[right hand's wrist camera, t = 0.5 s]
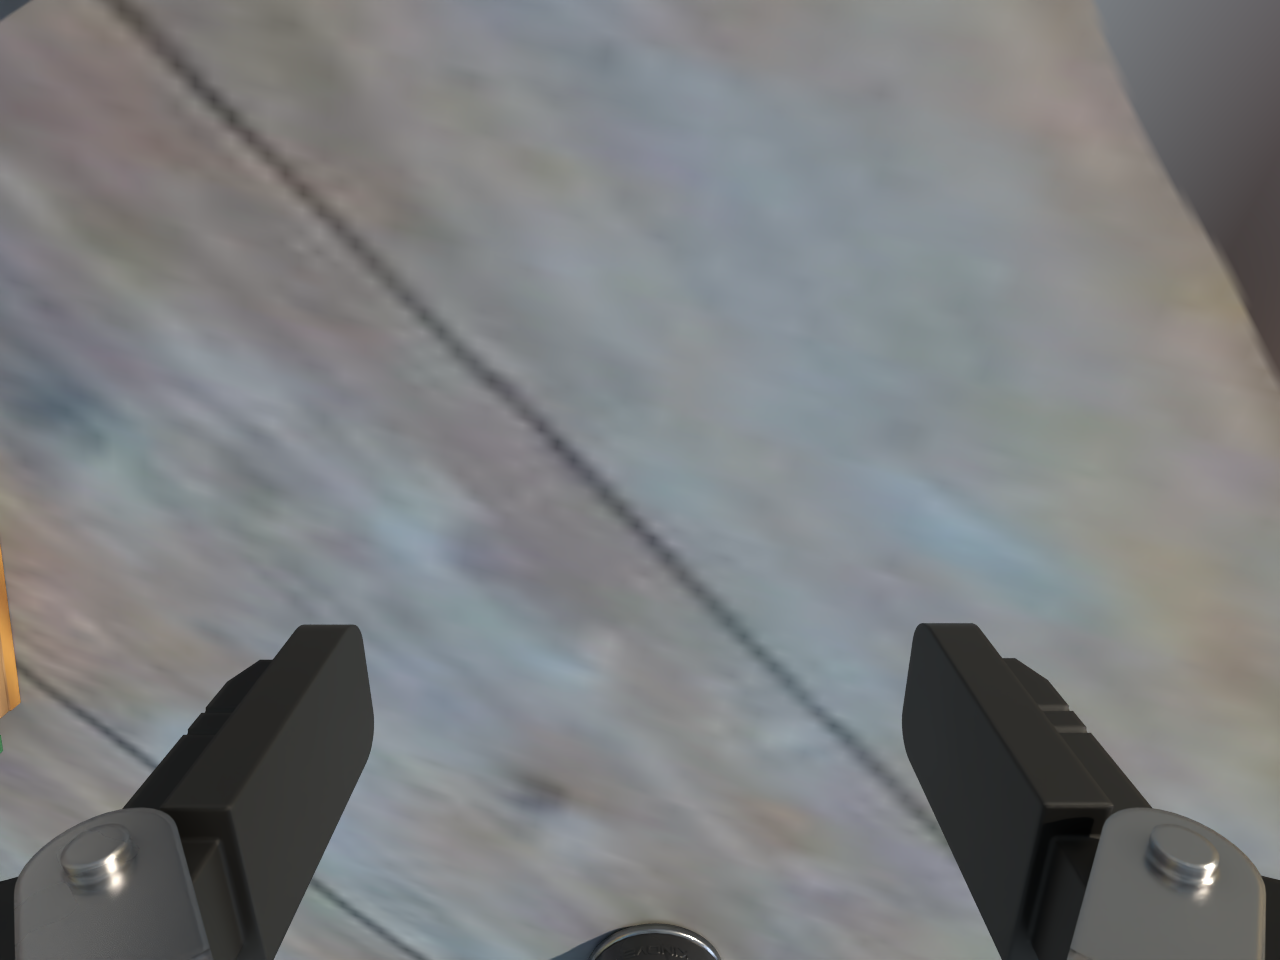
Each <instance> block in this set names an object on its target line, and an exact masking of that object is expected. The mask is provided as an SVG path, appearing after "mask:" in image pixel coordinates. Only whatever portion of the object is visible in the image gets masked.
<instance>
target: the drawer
mask: <svg viewBox="0 0 1280 960" xmlns="http://www.w3.org/2000/svg"><path fill="white" fill-rule="evenodd" d="M2 751H3V747H2V740H1V735H0V753H1V752H2Z"/></svg>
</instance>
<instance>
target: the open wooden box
mask: <svg viewBox="0 0 1280 960" xmlns="http://www.w3.org/2000/svg"><path fill="white" fill-rule="evenodd" d="M19 703H21V702H20V694H19V686H18V678H17V671H16V663H15V655H14V647H13V639H12V632H11V624H10V616H9V608H8V601H7V593H6V585H5V577H4V570H3V562H2V554H1V546H0V718H2V717H3V716H4V715H5V714H6V713H7V712H8V711H11V710H12V709H13V708H15V707H16V706H17V705H18V704H19Z"/></svg>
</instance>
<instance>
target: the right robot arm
mask: <svg viewBox="0 0 1280 960" xmlns="http://www.w3.org/2000/svg"><path fill="white" fill-rule="evenodd" d="M902 731H903V740H904V745H905V749H906V753H907V756H908V758H909V761H910V763H911V765H912V767H913V769H914V771H915V774H916V776H917V778H918V780H919V782H920V784H921V786H922V789H923V791H924V793H925V795H926V797H927V799H928V802H929V804H930V806H931V808H932V810H933V812H934V814H935V817H936V819H937V821H938V823H939V825H940V827H941V829H942V832H943V834H944V836H945V838H946V840H947V842H948V845H949V847H950V849H951V851H952V853H953V855H954V857H955V860H956V862H957V864H958V866H959V868H960V870H961V873H962V875H963V877H964V879H965V881H966V883H967V885H968V888H969V890H970V892H971V894H972V896H973V898H974V900H975V903H976V905H977V907H978V909H979V911H980V913H981V916H982V918H983V920H984V922H985V924H986V926H987V928H988V931H989V933H990V935H991V937H992V939H993V941H994V943H995V946H996V948H997V950H998V952H999V954H1000V956H1001V959H1002V960H1280V880H1277V879H1273V878H1268V877H1264V876H1261V875H1260V873H1259V871H1258V870H1257V868H1256V867H1255V865H1254V864H1253V863H1252V862H1251V861H1250V859H1249V858H1248V857H1247V856H1246V855H1245V854H1244V853H1243V852H1242V851H1241V850H1240V849H1239V848H1238V847H1236V846H1235V845H1234V844H1233V843H1231V842H1230V841H1229V840H1227V839H1226V838H1225V837H1223V836H1222V835H1220V834H1218V833H1217V832H1215V831H1214V830H1212V829H1210V828H1208V827H1206V826H1204V825H1203V824H1201V823H1199V822H1196V821H1194V820H1192V819H1189V818H1187V817H1184V816H1181V815H1178V814H1175V813H1172V812H1168V811H1164V810H1159V809H1153V808H1152V807H1151V806H1150V805H1149V803H1148V802H1147V801H1146V800H1145V799H1144V797H1143V796H1142V795H1141V794H1140V792H1139V791H1138V790H1137V789H1136V787H1135V786H1134V785H1133V784H1132V783H1131V781H1130V780H1129V779H1128V778H1127V776H1126V775H1125V774H1124V773H1123V772H1122V770H1121V769H1120V768H1119V767H1118V765H1117V764H1116V763H1115V762H1114V761H1113V759H1112V758H1111V757H1110V756H1109V754H1108V753H1107V752H1106V751H1105V750H1104V748H1103V747H1102V746H1101V745H1100V743H1099V742H1098V741H1097V740H1096V739H1095V737H1094V736H1093V735H1092V734H1091V733H1087V731H1086V726H1085V725H1084V724H1083V723H1082V721H1081V720H1080V719H1079V718H1078V717H1077V715H1076V714H1075V713H1074V712H1073V711H1069V705H1068V704H1067V703H1066V702H1065V701H1064V699H1063V698H1062V697H1061V696H1060V694H1059V693H1058V692H1057V691H1056V690H1055V688H1054V687H1053V686H1052V685H1051V683H1050V682H1049V681H1048V680H1047V679H1045V678H1044V677H1042V676H1041V675H1039V674H1038V673H1036V672H1035V671H1033V670H1032V669H1030V668H1029V667H1027V666H1026V665H1024V664H1023V663H1021V662H1020V661H1018V660H1017V659H1015V658H1002V657H1001V656H1000V655H999V653H998V652H997V651H996V649H995V648H994V647H993V645H992V644H991V643H990V642H989V640H988V639H987V638H986V636H985V635H984V634H983V632H982V631H981V630H980V628H979V627H978V626H977V625H975V624H972V623H922V624H919V625H918V626H917V628H916V630H915V633H914V636H913V642H912V649H911V656H910V663H909V670H908V677H907V684H906V691H905V698H904V705H903V713H902ZM373 733H374V714H373V706H372V700H371V693H370V686H369V679H368V672H367V665H366V658H365V652H364V645H363V639H362V635H361V632H360V630H359V628H358V627H357V626H356V625H301V626H299V627H298V628H297V629H296V630H295V632H294V633H293V634H292V635H291V637H290V638H289V639H288V641H287V642H286V643H285V645H284V646H283V647H282V648H281V650H280V651H279V652H278V654H277V655H276V656H275V658H274V659H273V660H259V661H258V662H256V663H255V664H253V665H252V666H250V667H249V668H247V669H246V670H244V671H243V672H241V673H240V674H238V675H237V676H235V677H234V678H232V679H231V680H229V681H228V682H227V683H226V684H225V685H224V686H223V687H222V689H221V690H220V691H219V692H218V693H217V695H216V696H215V697H214V698H213V700H212V701H211V702H210V703H209V704H208V706H207V707H206V712H205V713H201V714H200V715H199V717H198V718H197V719H196V720H195V721H194V723H193V724H192V725H191V726H190V727H189V729H188V734H187V735H183V736H182V737H181V738H180V740H179V741H178V742H177V743H176V744H175V746H174V747H173V748H172V749H171V751H170V752H169V753H168V754H167V755H166V757H165V758H164V759H163V760H162V761H161V763H160V764H159V765H158V766H157V767H156V769H155V770H154V771H153V772H152V774H151V775H150V776H149V777H148V778H147V780H146V781H145V782H144V783H143V784H142V786H141V787H140V788H139V789H138V791H137V792H136V793H135V794H134V795H133V797H132V798H131V799H130V800H129V801H128V803H127V804H126V805H125V806H124V808H123V809H121V810H116V811H112V812H108V813H105V814H102V815H99V816H96V817H93V818H91V819H88V820H86V821H84V822H81V823H79V824H77V825H76V826H74V827H72V828H70V829H68V830H66V831H65V832H63V833H62V834H60V835H58V836H57V837H55V838H54V839H53V840H51V841H50V842H49V843H47V844H46V845H45V846H44V847H42V848H41V849H40V850H39V851H38V852H37V853H36V854H35V855H34V856H33V857H32V858H31V859H30V861H29V862H28V863H27V864H26V865H25V867H24V868H23V870H22V871H21V873H20V875H19V877H16V878H12V879H8V880H4V881H0V960H274V958H275V955H276V953H277V951H278V949H279V947H280V945H281V943H282V941H283V938H284V936H285V934H286V932H287V930H288V928H289V926H290V924H291V921H292V919H293V917H294V915H295V913H296V911H297V909H298V907H299V904H300V902H301V900H302V898H303V896H304V894H305V892H306V890H307V887H308V885H309V883H310V881H311V879H312V877H313V875H314V873H315V870H316V868H317V866H318V864H319V862H320V860H321V858H322V856H323V853H324V851H325V849H326V847H327V845H328V843H329V841H330V839H331V836H332V834H333V832H334V830H335V828H336V826H337V824H338V822H339V819H340V817H341V815H342V813H343V811H344V809H345V807H346V805H347V803H348V800H349V798H350V796H351V794H352V792H353V790H354V788H355V786H356V783H357V781H358V779H359V777H360V775H361V773H362V771H363V769H364V766H365V764H366V762H367V760H368V757H369V754H370V750H371V746H372V741H373ZM589 960H721V958H720V956H719V954H718V952H717V951H716V949H715V948H714V947H713V946H712V945H711V944H710V943H709V942H708V941H707V940H706V939H704V938H703V937H702V936H700V935H698V934H696V933H695V932H692V931H690V930H688V929H685V928H682V927H678V926H674V925H668V924H643V925H637V926H632V927H629V928H626V929H623V930H620V931H618V932H616V933H614V934H612V935H610V936H609V937H607V938H606V939H605V940H603V941H602V942H601V943H600V944H599V945H598V946H597V947H596V949H595V950H594V951H593V953H592V954H591V956H590V958H589Z"/></svg>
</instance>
